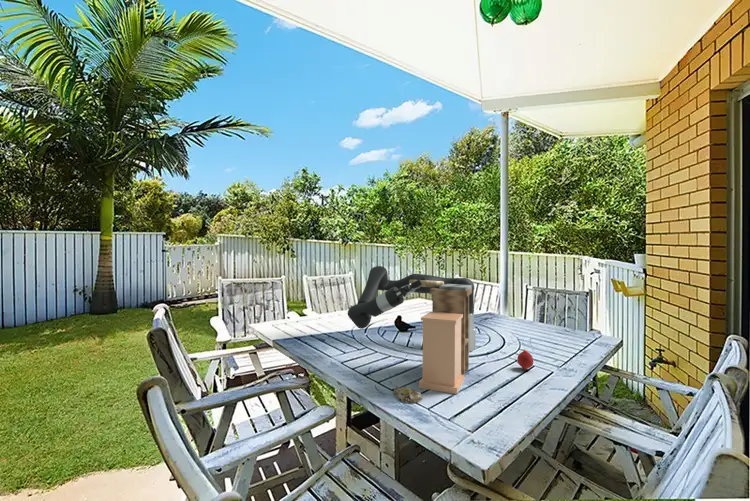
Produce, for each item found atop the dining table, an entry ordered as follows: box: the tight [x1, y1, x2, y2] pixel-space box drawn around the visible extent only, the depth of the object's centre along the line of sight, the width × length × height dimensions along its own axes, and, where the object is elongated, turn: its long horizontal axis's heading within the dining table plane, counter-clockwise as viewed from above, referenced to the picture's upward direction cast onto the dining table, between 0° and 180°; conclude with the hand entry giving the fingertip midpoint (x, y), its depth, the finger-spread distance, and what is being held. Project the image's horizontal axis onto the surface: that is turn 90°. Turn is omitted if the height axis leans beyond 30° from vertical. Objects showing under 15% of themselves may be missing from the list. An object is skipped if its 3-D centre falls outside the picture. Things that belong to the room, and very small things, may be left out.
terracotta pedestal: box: [418, 311, 465, 395], centre depth 125 cm, size 13×13×24 cm
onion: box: [516, 348, 534, 371], centre depth 140 cm, size 6×6×8 cm
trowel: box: [409, 280, 472, 291], centre depth 141 cm, size 24×9×3 cm, turn 61°
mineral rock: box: [393, 385, 423, 404], centre depth 115 cm, size 11×4×8 cm
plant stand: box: [429, 287, 472, 378], centre depth 138 cm, size 14×10×32 cm
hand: (423, 281), depth 142 cm, fingers open, 6 cm apart
